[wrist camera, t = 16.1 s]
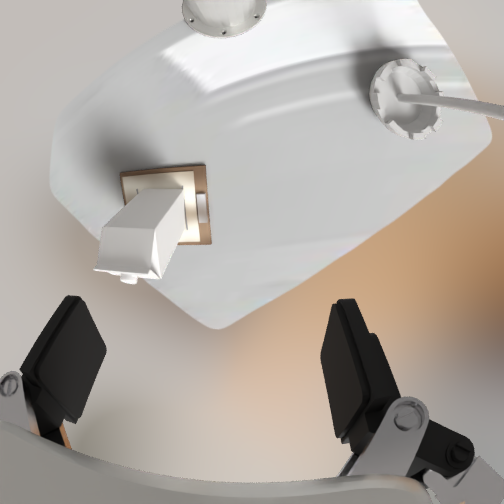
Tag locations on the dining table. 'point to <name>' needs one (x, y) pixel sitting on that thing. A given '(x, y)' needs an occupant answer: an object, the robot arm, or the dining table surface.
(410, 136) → the flag stand
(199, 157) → the dining table surface
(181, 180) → the clipboard
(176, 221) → the milk carton
